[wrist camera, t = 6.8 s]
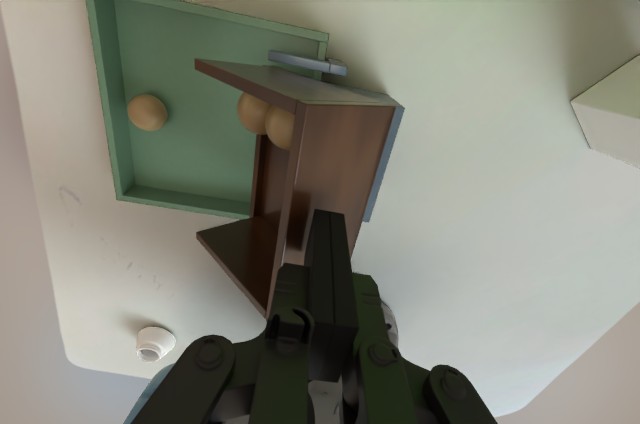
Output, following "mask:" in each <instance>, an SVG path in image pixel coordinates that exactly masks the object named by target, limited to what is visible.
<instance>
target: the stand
mask: <svg viewBox="0 0 640 424" xmlns="http://www.w3.org/2000/svg"><path fill="white" fill-rule="evenodd" d="M268 60H269V61H274V62H279V63H284V64H289V65H293V66H298V67H303V68H308V69H313V70H317V71H322V72H327V73H328V72H329V73H332V74H337V75H342V76H346V73H347V68H348V67H347V66H346V65H345V64H344V63H343V62H341V61H340V60H335V59H330V58H328V59H327V61H324V60H319V59H315V58H310V57H305V56H300V55H296V54H291V53H286V52H281V51H277V50H269V51H268ZM325 83H327V82H325ZM329 84H332V83H329ZM332 85H335V86H338V87H341V88H344V89H347V90H350V91H353V92H356V93H359V94H362V95H365V96H368V97H371V98H374V99H377V100H380V101H383V102H386V103H389V104H392V105H395V106H396V110H395V113H394V116H393V120H392V123H391V126H390V130H389V133H388V136H387V140H386V143H385V146H384V150H383V153H382V156H381V160H380V163H379V166H378V170H377V173H376V176H375V180H374V183H373V186H372V190H371V193H370V196H369V200H368V203H367V206H366V210H365V213H364V216H363V220H362V221H364V222H369V220H370V217H371V214H372V211H373V208H374V205H375V201H376V198H377V195H378V192H379V189H380V185H381V182H382V179H383V176H384V173H385V169H386V166H387V163H388V160H389V157H390V154H391V150H392V147H393V144H394V141H395V138H396V134H397V131H398V128H399V125H400V122H401V118H402V115H403V112H404V109H405V108H404V107H403V106H402V105H400V104H399V103H398V102H397V101H395V100H394V99H393V98H391V97H390V96H389V95H386V94H381V93H376V92H371V91H366V90H361V89H357V88H352V87H347V86H342V85H337V84H332Z"/></svg>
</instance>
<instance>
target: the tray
mask: <svg viewBox="0 0 640 424" xmlns="http://www.w3.org/2000/svg"><path fill="white" fill-rule="evenodd" d="M86 5H87V12H88V18H89V25H90V31H91V37H92V44H93V50H94V57H95V63H96V70H97V76H98V83H99V89H100V96H101V102H102V108H103V115H104V121H105V128H106V134H107V141H108V147H109V154H110V160H111V167H112V173H113V180H114V186H115V192H116V199H117V200H120V201H127V202H133V203H139V204H146V205H152V206H159V207H165V208H172V209H178V210H185V211H191V212H197V213H204V214H210V215H217V216H223V217H230V218H236V219H243V220H244V219H247V218H249V214H250V202H251V191H252V180H253V168H254V157H255V145H256V134H255V133H252V132H250V131H249V130H247V129H246V128H245V127H244V126H243V125H242V123H241V122H240V120H239V118H238V114H237V103H238V100H239V98H240V96H241V94H242V93H243V91H240V90H238V89H236V88H234V87H232V86H230V85H227V84H225V83H223V82H221V81H219V80H216V79H214V78H212V77H210V76H208V75H206V74H203V73H201V72H199V71H197V70H195V67H194V59H195V58H199V59H208V60H216V61H225V62H233V63H242V64H250V65H259V66H262V65H269V66H271V65H275V66H280V67H282V68H283V69H286V70H289V71H292V72H295V73H298V74H301V75H304V76H307V77H310V78H313V79H316V80H319V81H321V77H322V71H317V70H313V69H308V68H303V67H298V66H293V65H289V64H284V63H279V62H274V61H269V60H268V51H269V50H277V51H281V52H286V53H291V54H296V55H300V56H305V57H310V58H315V59H319V60H325V55H326V49H327V42H328V38H329V34H328V33H323V32H319V31H314V30H310V29H305V28H301V27H296V26H291V25H287V24H282V23H278V22H273V21H269V20H264V19H260V18H255V17H251V16H246V15H241V14H237V13H232V12H228V11H223V10H219V9H214V8H210V7H205V6H200V5H196V4H191V3H187V2H182V1H178V0H86ZM141 94H148V95H152V96H155V97H156V98H158V99H159V100H160V101H161V102H162V103H163V104H164V105H165V107H166V109H167V113H168V117H167V121H166V123H165V125H164V126H163V127H162V128H160V129H158V130H155V131H146V130H142V129H140V128H138V127H137V126H135V125H134V124H133V123H132V121H131V120H130V118H129V116H128V112H127V108H128V104H129V102H130V100H131V99H132V98H134V97H135V96H137V95H141Z"/></svg>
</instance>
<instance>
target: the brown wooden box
mask: <svg viewBox="0 0 640 424" xmlns="http://www.w3.org/2000/svg"><path fill="white" fill-rule="evenodd" d="M194 67H195V70H197V71H199V72H201V73H203V74H206V75H208V76H210V77H212V78H214V79H216V80H219V81H221V82H223V83H225V84H227V85H230V86H232V87H234V88H236V89H238V90H240V91H243V92H245V93H247V94H249V95H251V96H254V97H256V98H258V99H260V100H262V101H264V102H267V103H269V104H271V105H273V106H275V107H278V108H280V109H282V110H284V111H286V112H288V113H291V114H293V115H295V121H294V127H293V134H292V141H291V148H290V151H287V150H283V149H281V148H279V147H277V146H276V145H275V144H273V142H272V141H271V140H270V139H269V137H268V135H267V134H266V135H259V134H256V145H255V157H254V168H253V180H252V191H251V202H250V214H249V218H247V219H244V220H240V221H236V222H232V223H229V224H225V225H221V226H217V227H214V228H210V229H206V230H203V231H199V232H196V238H197V240H198V241H199V242H200V243H201V244H202V245H203V247H204V248H205V249H206V250H207V251H208V252H209V254H210V255H211V256H212V257H213V258H214V259H215V261H216V262H217V263H218V264H219V265H220V266H221V268H222V269H223V270H224V271H225V272H226V273H227V275H228V276H229V277H230V278H231V279H232V280H233V282H234V283H235V284H236V285H237V286H238V287H239V289H240V290H241V291H242V292H243V293H244V294H245V296H246V297H247V298H248V299H249V300H250V301H251V303H252V304H253V305H254V306H255V307H256V308H257V310H258V311H259V312H260V313H261V314H262V315H263V317H264V318H266V320H267V319H268V317H269V314H270V309H271V303H272V298H273V293H274V288H275V282H276V277H277V272H278V270H279V268H280V267H281V266H282V265H283V264H284V263H290V264H297V265H303V266H304V256H305V250H306V246H307V241H308V237H309V232H310V228H311V223H312V219H313V214H314V210H315V209H320V210H325V211H331V212H337V213H342V214H344V216H345V223H346V231H347V239H348V246H349V254H350V260H351V256H352V253H353V250H354V246H355V243H356V240H357V236H358V233H359V230H360V226H361V223H362V220H363V216H364V213H365V210H366V206H367V203H368V200H369V196H370V193H371V190H372V186H373V183H374V180H375V176H376V173H377V170H378V166H379V163H380V160H381V156H382V153H383V150H384V146H385V143H386V140H387V136H388V133H389V130H390V126H391V123H392V120H393V116H394V113H395V110H396V106H395V105H392V104H389V103H386V102H383V101H380V100H377V99H374V98H371V97H368V96H365V95H362V94H359V93H356V92H353V91H350V90H347V89H344V88H341V87H338V86H335V85H332V84H329V83H325V82H322V81H319V80H316V79H313V78H310V77H307V76H304V75H301V74H298V73H295V72H292V71H289V70H286V69H283V68H282V67H280V66H275V65H271V66H269V65H262V66H259V65H250V64H242V63H233V62H225V61H216V60H208V59H199V58H195V59H194Z"/></svg>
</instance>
